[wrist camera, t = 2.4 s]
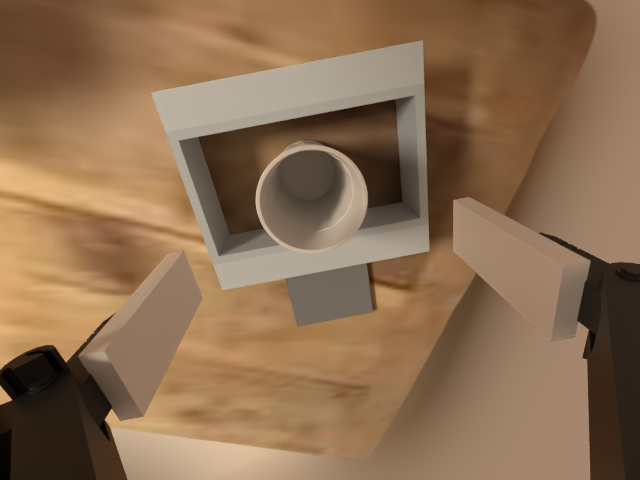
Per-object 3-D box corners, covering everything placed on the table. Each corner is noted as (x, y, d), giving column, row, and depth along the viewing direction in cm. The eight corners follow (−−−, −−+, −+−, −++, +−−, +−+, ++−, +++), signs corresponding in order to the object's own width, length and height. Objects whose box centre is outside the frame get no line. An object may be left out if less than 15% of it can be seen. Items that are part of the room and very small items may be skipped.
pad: (280, 257, 37) (280, 259, 36) (363, 241, 37) (364, 243, 36) (297, 323, 41) (297, 326, 40) (371, 309, 41) (373, 312, 40)
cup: (355, 185, 34) (384, 224, 23) (292, 218, 35) (290, 270, 24) (323, 116, 31) (338, 122, 20) (254, 154, 32) (233, 180, 21)
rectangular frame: (175, 94, 29) (150, 92, 24) (400, 51, 29) (422, 40, 24) (232, 264, 37) (222, 290, 32) (411, 231, 37) (429, 251, 31)
